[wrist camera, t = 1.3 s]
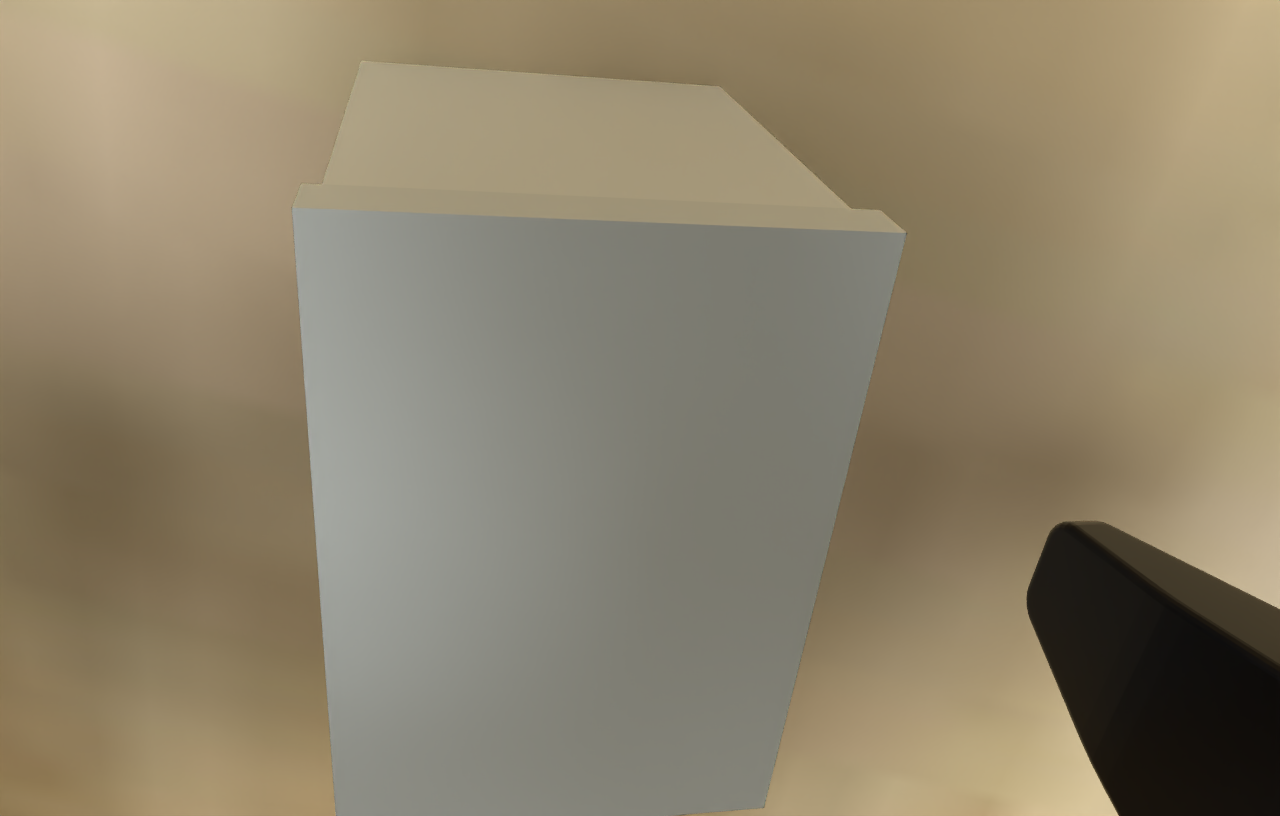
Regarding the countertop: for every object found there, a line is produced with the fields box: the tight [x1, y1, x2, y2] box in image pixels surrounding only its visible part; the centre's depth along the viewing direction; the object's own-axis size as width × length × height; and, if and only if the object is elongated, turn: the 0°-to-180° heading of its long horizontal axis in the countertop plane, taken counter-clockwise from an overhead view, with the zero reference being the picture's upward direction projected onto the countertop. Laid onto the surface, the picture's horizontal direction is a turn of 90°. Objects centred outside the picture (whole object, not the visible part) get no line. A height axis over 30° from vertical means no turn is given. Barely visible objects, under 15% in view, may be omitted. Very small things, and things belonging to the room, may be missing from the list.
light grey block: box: [292, 61, 907, 816], centre depth 10 cm, size 6×4×5 cm
